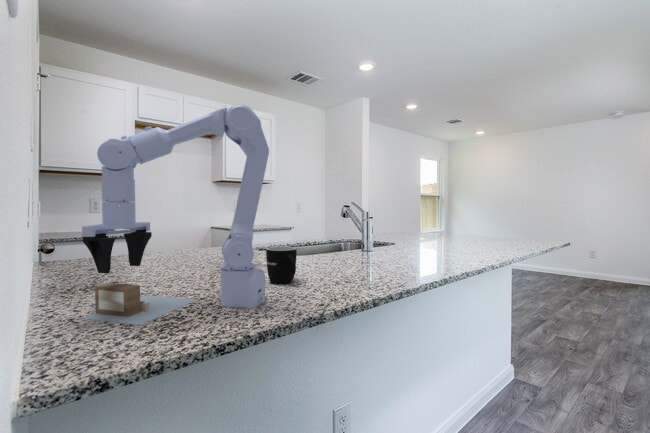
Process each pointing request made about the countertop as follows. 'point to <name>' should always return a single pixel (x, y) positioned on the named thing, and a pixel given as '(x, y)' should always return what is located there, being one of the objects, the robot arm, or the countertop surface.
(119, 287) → the brown square box
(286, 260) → the mug
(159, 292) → the countertop surface
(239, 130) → the robot arm
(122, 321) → the blue flat mat
